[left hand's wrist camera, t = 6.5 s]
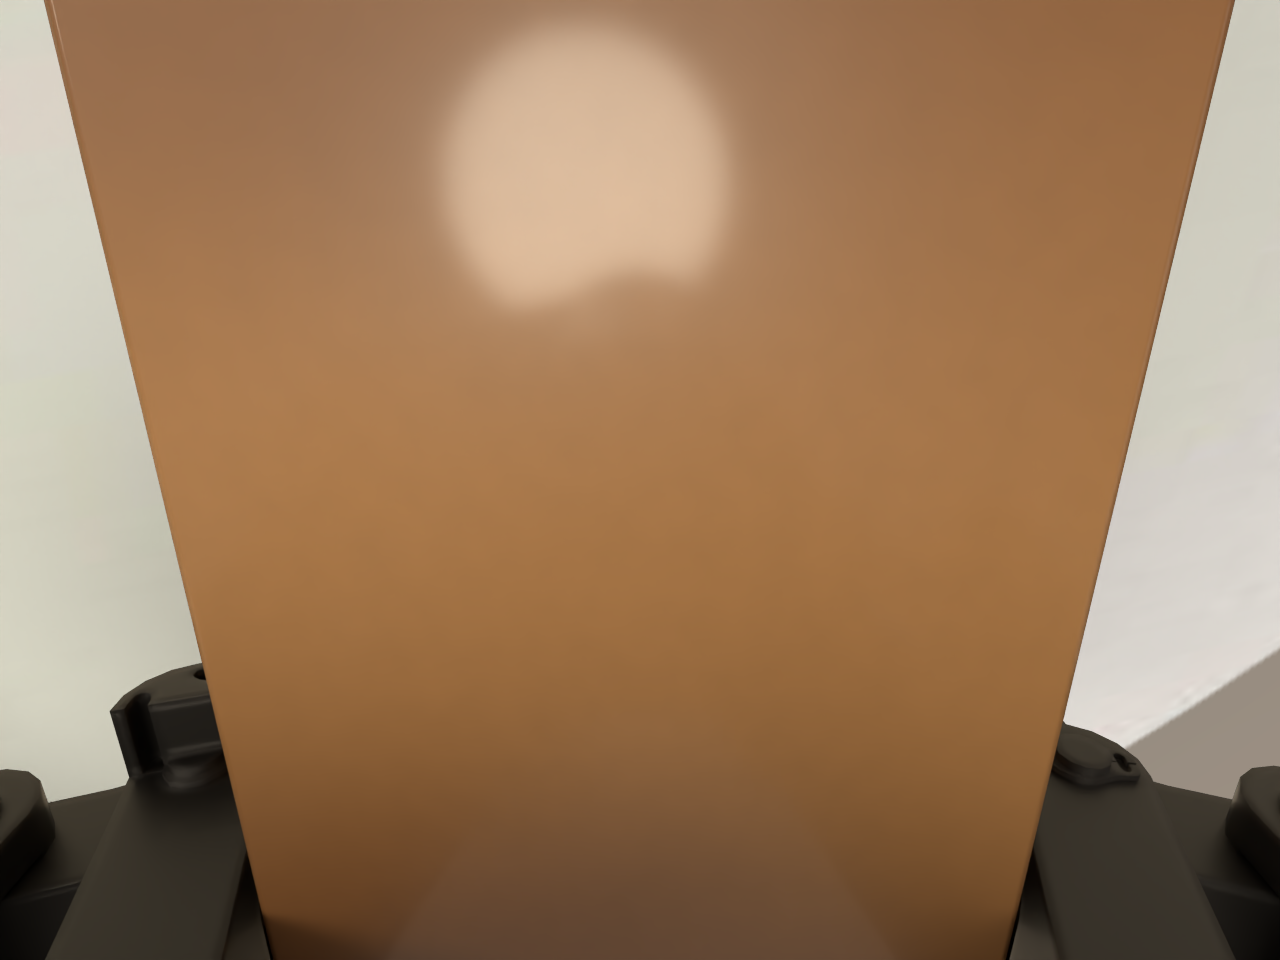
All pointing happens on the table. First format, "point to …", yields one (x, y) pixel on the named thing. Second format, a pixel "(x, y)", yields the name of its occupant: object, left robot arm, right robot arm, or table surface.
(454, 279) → the bar
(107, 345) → the table surface
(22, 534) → the table surface
